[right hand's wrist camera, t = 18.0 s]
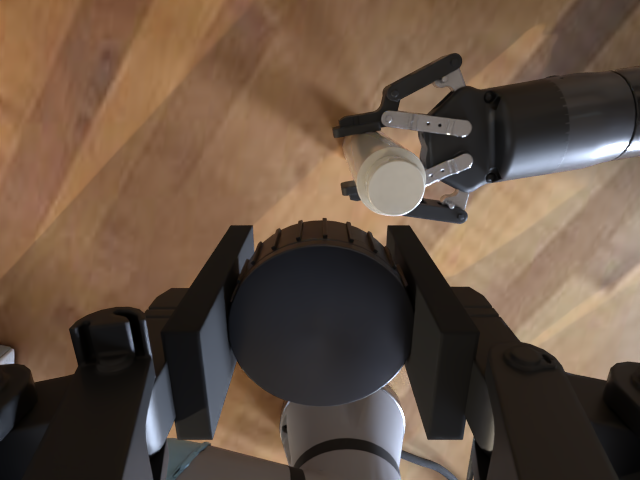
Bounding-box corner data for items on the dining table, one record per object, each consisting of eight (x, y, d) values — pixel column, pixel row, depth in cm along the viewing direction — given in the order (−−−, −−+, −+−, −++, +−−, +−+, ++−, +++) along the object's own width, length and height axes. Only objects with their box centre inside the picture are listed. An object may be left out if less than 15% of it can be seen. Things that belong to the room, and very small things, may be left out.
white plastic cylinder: (387, 164, 40) (435, 218, 23) (345, 170, 40) (363, 229, 23) (382, 121, 38) (431, 145, 21) (339, 128, 38) (354, 157, 22)
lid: (235, 213, 11) (219, 238, 9) (413, 219, 11) (431, 244, 9) (241, 361, 13) (228, 406, 11) (395, 366, 13) (407, 411, 11)
